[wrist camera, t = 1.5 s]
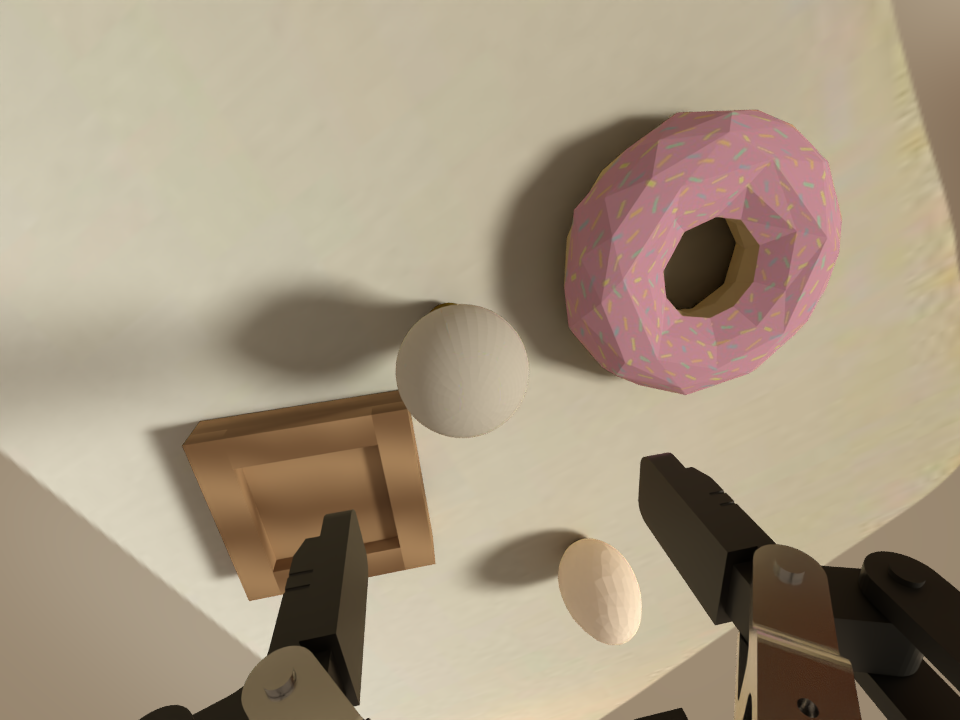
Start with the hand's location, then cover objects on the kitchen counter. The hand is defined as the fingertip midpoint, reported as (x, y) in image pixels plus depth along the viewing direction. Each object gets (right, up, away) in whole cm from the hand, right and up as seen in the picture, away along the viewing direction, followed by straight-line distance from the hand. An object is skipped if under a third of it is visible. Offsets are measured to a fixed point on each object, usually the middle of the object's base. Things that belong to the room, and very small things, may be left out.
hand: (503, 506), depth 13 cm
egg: (+7, -10, +24) cm, 27 cm away
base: (-10, -4, +17) cm, 21 cm away
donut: (+11, +10, +15) cm, 22 cm away
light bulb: (-3, +6, +14) cm, 16 cm away
